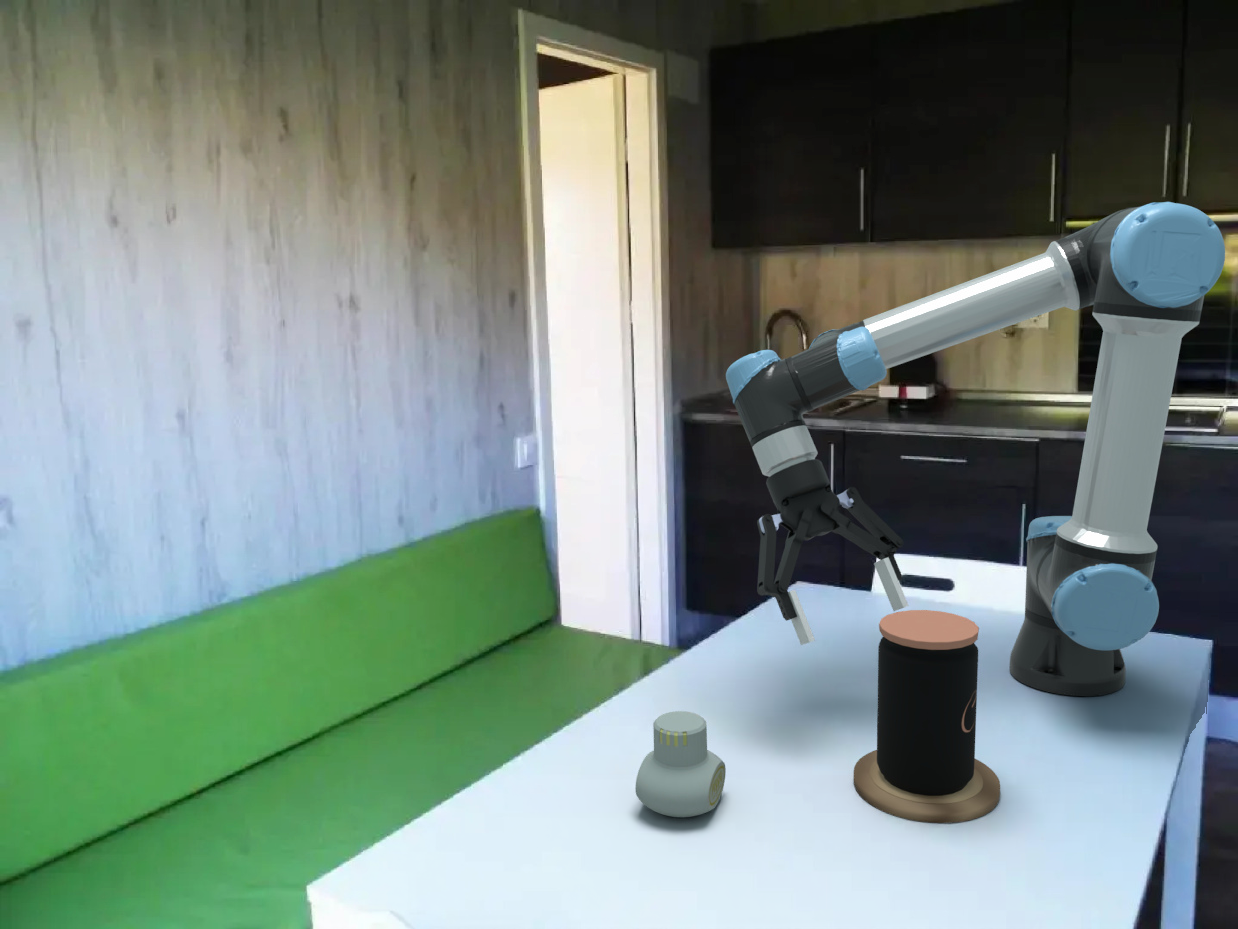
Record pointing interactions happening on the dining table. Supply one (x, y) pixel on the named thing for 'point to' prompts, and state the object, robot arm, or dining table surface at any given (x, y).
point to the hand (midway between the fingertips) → (855, 626)
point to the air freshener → (680, 768)
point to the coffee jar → (927, 701)
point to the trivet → (933, 809)
